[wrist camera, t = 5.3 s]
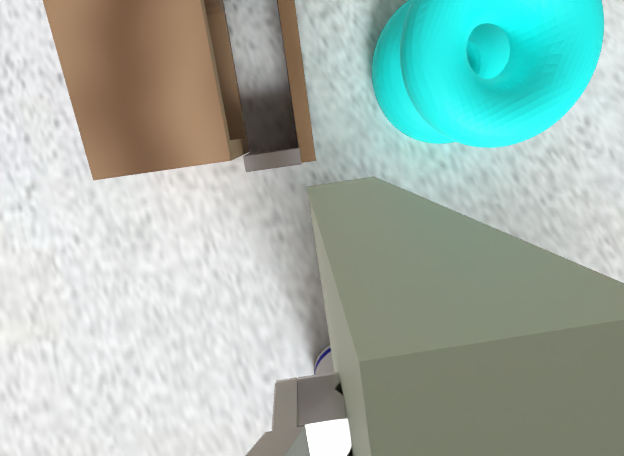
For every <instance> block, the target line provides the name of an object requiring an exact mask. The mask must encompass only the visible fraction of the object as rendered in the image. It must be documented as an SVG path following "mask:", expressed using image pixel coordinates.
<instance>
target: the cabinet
mask: <svg viewBox="0 0 624 456" xmlns="http://www.w3.org/2000/svg"><path fill="white" fill-rule="evenodd" d="M43 3H44V7H45V10H46V14H47V17H48V21H49V24H50V28H51V32H52V35H53V39H54V42H55V46H56V49H57V53H58V56H59V60H60V64H61V67H62V71H63V74H64V78H65V81H66V85H67V88H68V92H69V96H70V99H71V103H72V106H73V110H74V113H75V117H76V120H77V124H78V127H79V131H80V135H81V138H82V142H83V145H84V149H85V152H86V156H87V159H88V163H89V167H90V170H91V174H92V177H93V180H99V179H106V178H113V177H120V176H127V175H134V174H141V173H147V172H154V171H161V170H168V169H175V168H182V167H189V166H196V165H203V164H210V163H217V162H224V161H231V160H233V159H235V158H237V157H239V156H241V155H244V154H246V153H248V152H250V151H249V146H248V140H247V134H246V129H245V123H244V117H243V112H242V106H241V100H240V94H239V89H238V83H237V77H236V72H235V66H234V60H233V55H232V49H231V43H230V38H229V32H228V26H227V21H226V15H225V9H224V3H223V0H43ZM277 3H278V10H279V17H280V24H281V31H282V38H283V45H284V52H285V59H286V65H287V72H288V79H289V86H290V93H291V100H292V107H293V114H294V121H295V128H296V135H297V142H298V146H296V147H289V148H282V149H275V150H268V151H261V152H254V153H249V154H247V155H245V156H243V158H244V164H245V170H246V172H250V171H257V170H264V169H271V168H278V167H285V166H292V165H299V164H301V163H304V162H311V161H316V158H315V151H314V144H313V136H312V129H311V121H310V114H309V106H308V99H307V91H306V84H305V76H304V69H303V61H302V54H301V46H300V39H299V31H298V24H297V17H296V9H295V2H294V0H277Z"/></svg>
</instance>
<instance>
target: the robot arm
mask: <svg viewBox="0 0 624 456" xmlns="http://www.w3.org/2000/svg"><path fill="white" fill-rule="evenodd" d="M351 447H352V444H351V437H350V431H349V424H348V418H347V412H346V407H345V401H344V396H343V394H342V387H341V381H340V376H339V372H333V373H326V374H319V375H311V376H304V377H298V378H290V379H284V380H277V381H276V383H275V390H274V405H273V419H272V431H270V432H265V433H264V434H263V436H262V437H261V438H260V439H259V440H258V441H257V443H256V444H255V445H254V446H253V447H252V449H251V450H250V451H249V452H248V453H247V455H246V456H353V454H352V448H351Z"/></svg>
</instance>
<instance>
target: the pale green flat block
mask: <svg viewBox="0 0 624 456" xmlns="http://www.w3.org/2000/svg"><path fill="white" fill-rule="evenodd" d="M307 192H308V198H309V205H310V212H311V218H312V225H313V232H314V239H315V245H316V252H317V259H318V265H319V272H320V279H321V285H322V292H323V299H324V305H325V312H326V319H327V326H328V332H329V339H330V346H331V352H332V359H333V366H334V372H339V376H340V381H341V387H342V394H343V396H344V401H345V407H346V412H347V418H348V424H349V431H350V437H351V444H352V447H351V448H352V454H353V456H624V283H622V282H619V281H617V280H614V279H612V278H610V277H607V276H605V275H603V274H600V273H598V272H596V271H593V270H591V269H589V268H586V267H584V266H582V265H579V264H577V263H575V262H572V261H570V260H568V259H565V258H563V257H561V256H558V255H556V254H554V253H551V252H549V251H547V250H544V249H542V248H540V247H537V246H535V245H533V244H530V243H528V242H526V241H523V240H521V239H519V238H516V237H514V236H512V235H509V234H507V233H505V232H502V231H500V230H498V229H495V228H493V227H491V226H488V225H486V224H484V223H481V222H479V221H477V220H474V219H472V218H470V217H467V216H465V215H462V214H460V213H458V212H455V211H453V210H451V209H448V208H446V207H444V206H441V205H439V204H437V203H434V202H432V201H430V200H427V199H425V198H423V197H420V196H418V195H416V194H413V193H411V192H409V191H406V190H404V189H402V188H399V187H397V186H395V185H392V184H390V183H388V182H385V181H383V180H381V179H378V178H376V177H369V178H362V179H355V180H349V181H342V182H336V183H329V184H322V185H316V186H309V187H307Z"/></svg>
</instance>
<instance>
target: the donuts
mask: <svg viewBox="0 0 624 456" xmlns="http://www.w3.org/2000/svg"><path fill="white" fill-rule="evenodd" d="M603 34H604V14H603V6H602V0H408V1H407V2H405V3H404V4H403V5H402V6H401V7H400V8H399V9H398V10H397V11H396V12H395V13H394V14H393V15H392V17H391V18H390V19H389V21H388V22H387V23H386V25H385V27H384V28H383V30H382V32H381V34H380V36H379V39H378V41H377V44H376V47H375V51H374V55H373V62H372V81H373V87H374V92H375V95H376V98H377V101H378V104H379V106H380V108H381V110H382V111H383V113H384V114H385V116H386V117H387V119H388V120H389V121H390V122H391V123H392V124H393V125H394V126H395V127H396V128H397V129H398V130H400V131H401V132H402V133H404V134H405V135H407V136H409V137H411V138H413V139H416V140H419V141H423V142H427V143H436V144H444V143H452V142H458V143H461V144H465V145H469V146H474V147H487V148H490V147H503V146H509V145H513V144H516V143H519V142H522V141H525V140H527V139H530V138H532V137H534V136H536V135H538V134H540V133H541V132H543V131H545V130H546V129H548V128H549V127H551V126H552V125H553V124H555V123H556V122H557V121H558V120H559V119H561V118H562V117H563V116H564V115H565V114H566V113H567V112H568V111H569V110H570V109H571V107H572V106H573V105H574V104H575V102H576V101H577V100H578V99H579V97H580V96H581V94H582V93H583V92H584V90H585V88H586V87H587V85H588V83H589V81H590V79H591V77H592V75H593V73H594V70H595V68H596V65H597V62H598V59H599V56H600V52H601V47H602V42H603Z"/></svg>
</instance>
